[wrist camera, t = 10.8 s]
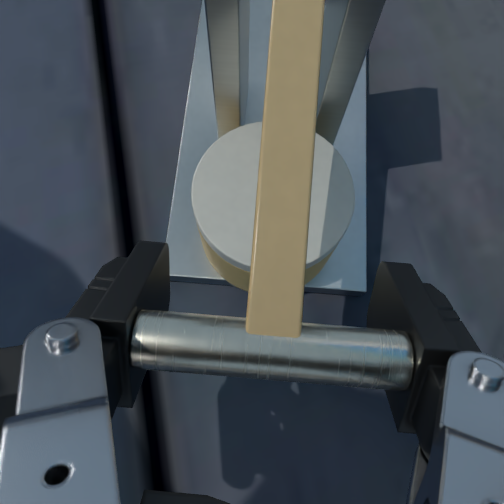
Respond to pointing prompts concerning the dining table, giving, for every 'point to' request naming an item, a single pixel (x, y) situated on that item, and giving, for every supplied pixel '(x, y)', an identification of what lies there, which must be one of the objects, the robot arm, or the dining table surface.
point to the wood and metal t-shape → (279, 254)
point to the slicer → (251, 110)
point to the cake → (244, 201)
